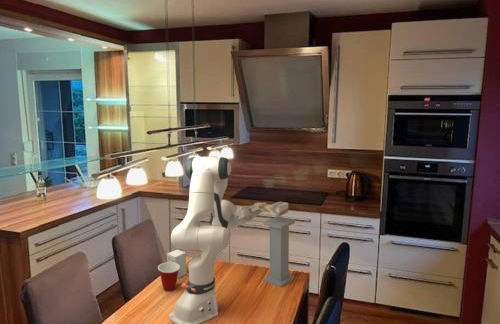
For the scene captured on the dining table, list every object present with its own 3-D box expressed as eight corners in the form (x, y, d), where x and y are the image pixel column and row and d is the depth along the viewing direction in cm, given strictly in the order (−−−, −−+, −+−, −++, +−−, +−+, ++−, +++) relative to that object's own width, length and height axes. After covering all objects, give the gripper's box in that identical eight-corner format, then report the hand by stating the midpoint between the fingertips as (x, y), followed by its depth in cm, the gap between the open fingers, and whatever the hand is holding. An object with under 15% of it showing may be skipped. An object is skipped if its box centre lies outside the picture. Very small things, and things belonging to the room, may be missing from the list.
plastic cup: (174, 295, 176) (173, 272, 175) (154, 292, 179) (153, 269, 178) (184, 285, 187) (183, 262, 185) (165, 282, 190) (164, 260, 188)
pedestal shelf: (281, 287, 183) (281, 226, 178) (263, 280, 190) (263, 221, 185) (294, 278, 192) (294, 220, 187) (277, 272, 199) (277, 216, 194)
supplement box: (178, 270, 203) (177, 249, 201) (187, 274, 198) (186, 252, 196) (167, 275, 197) (166, 253, 195) (176, 279, 193) (175, 256, 191)
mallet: (288, 212, 187) (288, 203, 186) (279, 216, 181) (279, 206, 180) (260, 206, 198) (260, 197, 198) (251, 209, 192) (251, 200, 192)
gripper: (229, 213, 194) (247, 204, 185) (254, 205, 209) (271, 196, 201) (234, 224, 193) (251, 216, 184) (258, 215, 208) (275, 207, 199)
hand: (262, 205), depth 192 cm, fingers closed on mallet, 3 cm apart
